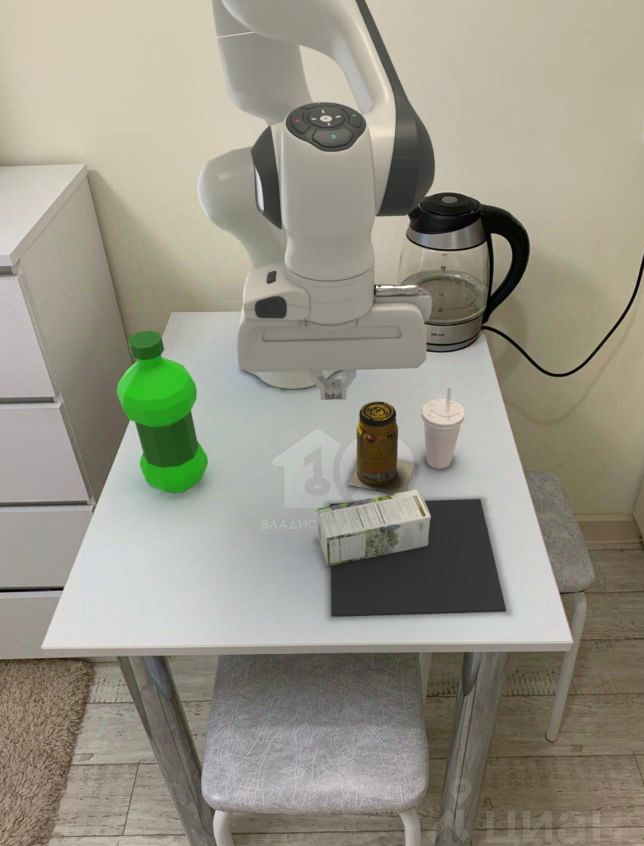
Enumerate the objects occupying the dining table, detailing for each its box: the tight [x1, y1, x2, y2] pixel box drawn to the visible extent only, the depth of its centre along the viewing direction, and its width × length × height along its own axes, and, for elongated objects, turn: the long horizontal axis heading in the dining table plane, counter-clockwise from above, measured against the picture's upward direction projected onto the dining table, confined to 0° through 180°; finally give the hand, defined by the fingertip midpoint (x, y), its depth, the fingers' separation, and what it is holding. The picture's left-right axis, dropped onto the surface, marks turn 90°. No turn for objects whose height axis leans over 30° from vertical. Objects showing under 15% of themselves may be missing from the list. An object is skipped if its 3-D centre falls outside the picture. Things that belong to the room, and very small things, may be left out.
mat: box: [329, 498, 507, 618], centre depth 98 cm, size 20×22×1 cm
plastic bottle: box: [116, 330, 209, 495], centre depth 102 cm, size 10×10×25 cm
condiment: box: [348, 400, 416, 494], centre depth 106 cm, size 7×8×12 cm
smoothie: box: [420, 385, 466, 470], centre depth 108 cm, size 6×6×14 cm
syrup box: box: [316, 489, 431, 567], centre depth 98 cm, size 6×6×14 cm
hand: (333, 396), depth 82 cm, fingers closed
